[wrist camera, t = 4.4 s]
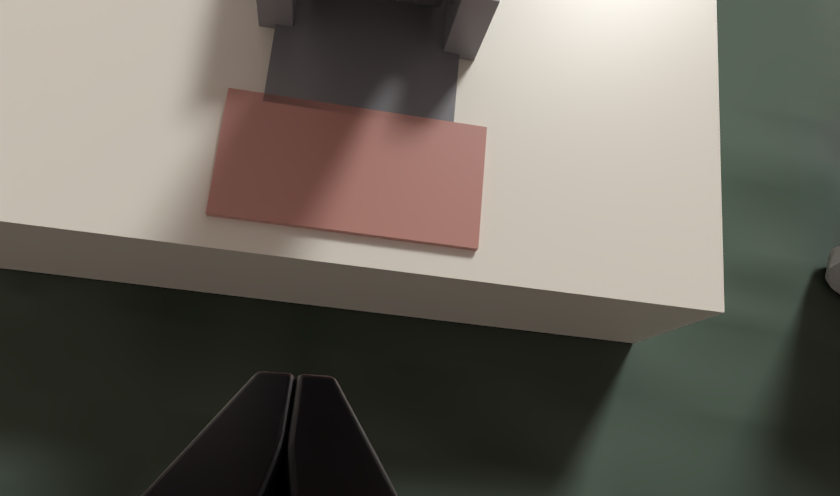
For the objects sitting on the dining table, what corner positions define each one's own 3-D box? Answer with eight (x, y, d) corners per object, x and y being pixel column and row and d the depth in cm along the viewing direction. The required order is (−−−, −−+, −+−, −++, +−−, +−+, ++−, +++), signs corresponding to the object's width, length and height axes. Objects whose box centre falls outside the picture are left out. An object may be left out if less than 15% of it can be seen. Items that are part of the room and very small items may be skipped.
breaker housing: (633, 343, 22) (791, 290, 15) (-3, 267, 20) (-172, 162, 13) (637, -52, 26) (763, -244, 19) (106, -152, 24) (23, -410, 17)
